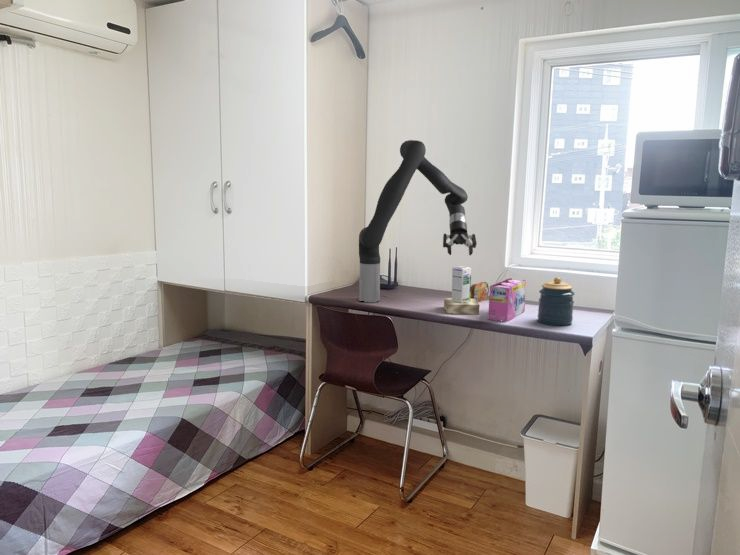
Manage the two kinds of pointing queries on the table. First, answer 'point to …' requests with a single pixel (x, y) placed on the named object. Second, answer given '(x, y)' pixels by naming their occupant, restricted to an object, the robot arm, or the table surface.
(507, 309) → the gum box
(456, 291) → the syrup box
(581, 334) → the table surface
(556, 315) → the canister
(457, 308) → the birch plinth
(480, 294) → the tin
